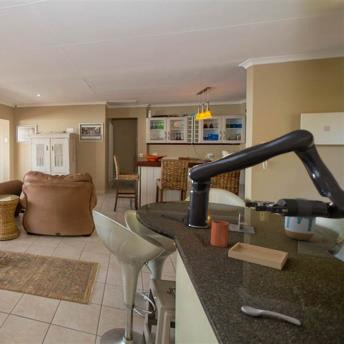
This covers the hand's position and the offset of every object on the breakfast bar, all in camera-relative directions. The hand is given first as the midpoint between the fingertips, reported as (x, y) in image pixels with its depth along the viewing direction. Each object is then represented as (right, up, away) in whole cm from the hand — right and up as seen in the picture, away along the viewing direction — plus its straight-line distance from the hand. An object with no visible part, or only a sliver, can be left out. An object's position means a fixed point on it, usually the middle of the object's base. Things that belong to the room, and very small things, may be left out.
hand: (250, 206), depth 123 cm
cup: (-11, -17, +4) cm, 21 cm away
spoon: (-31, -22, -50) cm, 63 cm away
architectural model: (+16, -15, +29) cm, 37 cm away
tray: (-5, -19, -11) cm, 22 cm away
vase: (+31, -17, +12) cm, 37 cm away
